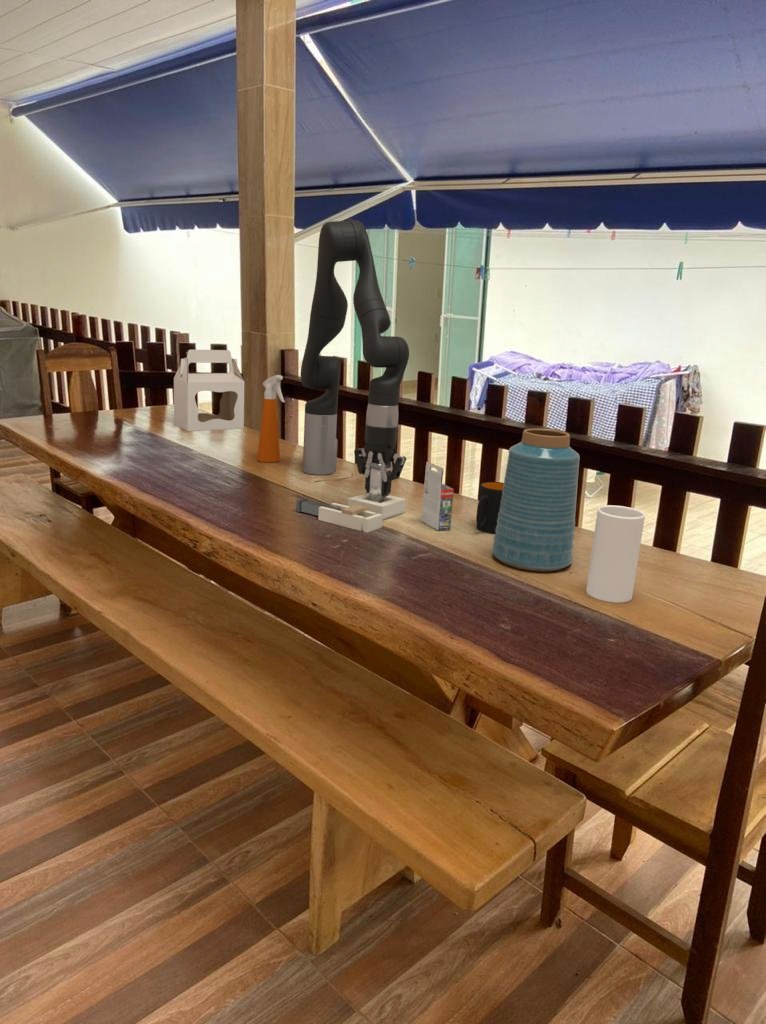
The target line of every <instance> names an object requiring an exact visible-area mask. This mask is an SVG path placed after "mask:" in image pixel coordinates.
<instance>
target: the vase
mask: <svg viewBox="0 0 766 1024" xmlns="http://www.w3.org/2000/svg"><path fill="white" fill-rule="evenodd" d="M570 443H571V435H570V433H568V432H566V431H562V430H557V429H551V428H550V429H549V428H525V429H524V430H523V431H522V438H521V441H520V442H518V443H517V444H514V445H512V446H510V448H508V456H507V462H506V468H505V474H504V478H503V483H504V486H503V490H502V496H501V503H500V508H499V512H498V518H497V525H496V529H495V530H496V533H495V534H494V536H493V540H494V541H493V544H492V550H491V551H492V554H493V556H494V557H495V558H496V559H498V560H499V561H500V562H501V563H503V564H504V565H506V566H509V567H511V568H516V569H518V570H524V571H529V572H542V573H543V572H548V573H549V572H555V571H559V570H562V569H564V568H567V567H568V566H569V565H571V563H573V557H574V553H573V550H574V545H575V544H574V541H575V531H576V527H575V525H576V511H577V499H578V498H577V497H578V494H577V493H578V483H579V481H578V479H579V469H580V459H581V457H580V454H579V453H578V452H577V451H576V450H574V449H573V448H572V447H571V446H570Z"/></svg>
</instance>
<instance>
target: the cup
mask: <svg viewBox="0 0 766 1024" xmlns="http://www.w3.org/2000/svg"><path fill="white" fill-rule="evenodd" d="M645 517H646V514H645V512H644V511H642V510H639V509H636V508H633V507H628V506H624V505H612V504H608V505H601V506H599V507H598V508H597V512H596V519H595V524H594V525H595V526H594V532H593V533H594V534H593V539H592V540H593V541H592V546H591V547H592V549H591V556H590V560H589V561H590V562H589V569H588V577H587V583H586V584H587V585H586V589H585V590H586V594H587V595H588V596H590V597H592V598H594V599H596V600H598V601H602V602H607V603H615V604H617V603H619V604H621V603H627V602H628V603H629V602H630V601H631V600H632V598H633V595H634V587H635V581H636V575H637V569H638V564H639V563H638V562H639V556H640V550H641V544H642V543H641V542H642V537H643V530H644V524H645V519H646V518H645Z"/></svg>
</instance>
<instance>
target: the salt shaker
mask: <svg viewBox="0 0 766 1024" xmlns="http://www.w3.org/2000/svg"><path fill="white" fill-rule="evenodd" d="M370 467H371V469H370V486H369V501H373V502H378V503H382V502H385V497H383V496H382V481H383V476H382V472H381V471H380V469H381V464H379V463H374V462H370ZM385 467H386V468H388V467H389V465H386V466H385Z"/></svg>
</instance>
